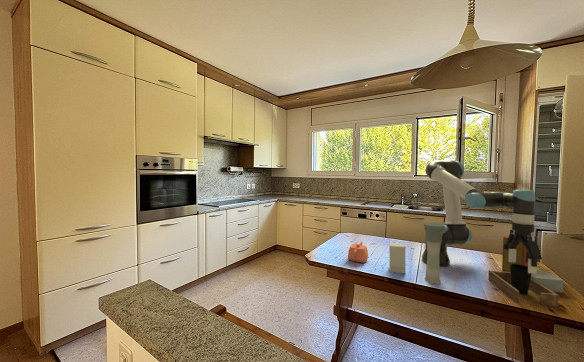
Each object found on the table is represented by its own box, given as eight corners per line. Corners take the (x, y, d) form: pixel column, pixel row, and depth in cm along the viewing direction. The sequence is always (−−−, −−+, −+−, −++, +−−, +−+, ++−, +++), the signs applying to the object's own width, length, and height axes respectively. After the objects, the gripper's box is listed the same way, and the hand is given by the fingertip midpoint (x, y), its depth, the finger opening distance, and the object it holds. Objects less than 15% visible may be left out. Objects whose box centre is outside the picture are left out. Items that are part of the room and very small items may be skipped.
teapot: (345, 262, 150) (345, 246, 150) (353, 253, 166) (353, 239, 165) (363, 266, 144) (363, 249, 144) (370, 256, 160) (370, 241, 159)
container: (436, 286, 119) (438, 227, 118) (418, 278, 128) (419, 223, 126) (447, 282, 124) (449, 224, 122) (429, 275, 132) (430, 221, 131)
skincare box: (404, 269, 139) (404, 243, 138) (405, 274, 133) (406, 247, 132) (388, 267, 142) (389, 242, 141) (389, 272, 136) (389, 245, 135)
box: (522, 278, 128) (524, 241, 127) (501, 271, 136) (503, 237, 135) (535, 271, 136) (537, 237, 135) (515, 266, 144) (516, 233, 143)
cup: (504, 288, 118) (505, 264, 117) (518, 287, 118) (519, 263, 118) (520, 296, 110) (521, 270, 109) (535, 295, 111) (537, 270, 110)
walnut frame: (516, 302, 105) (516, 291, 105) (488, 279, 127) (488, 270, 126) (558, 306, 102) (559, 295, 102) (522, 282, 123) (522, 273, 123)
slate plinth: (534, 290, 116) (535, 277, 115) (518, 279, 126) (519, 268, 126) (562, 292, 113) (563, 280, 113) (544, 282, 124) (545, 270, 123)
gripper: (554, 229, 99) (552, 279, 100) (514, 218, 124) (513, 258, 124) (532, 228, 101) (531, 277, 102) (497, 217, 125) (496, 257, 126)
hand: (521, 267), depth 113 cm, fingers open, 13 cm apart
